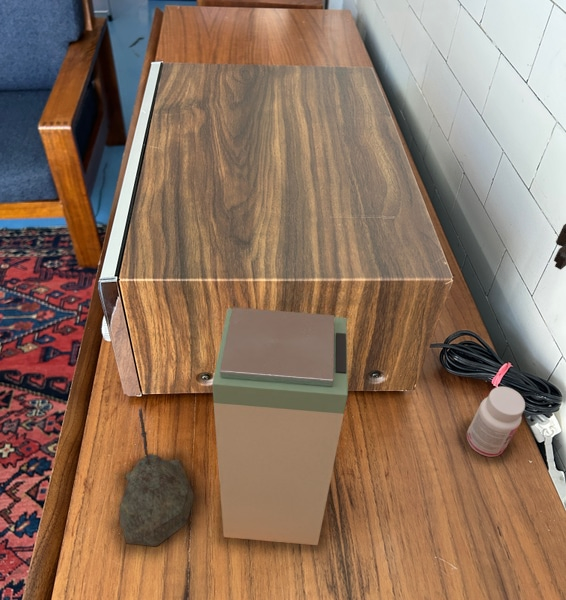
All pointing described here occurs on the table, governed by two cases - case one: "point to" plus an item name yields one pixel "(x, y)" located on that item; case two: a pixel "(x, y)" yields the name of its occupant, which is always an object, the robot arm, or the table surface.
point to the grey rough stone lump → (154, 499)
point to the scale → (282, 361)
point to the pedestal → (275, 471)
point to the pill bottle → (496, 421)
